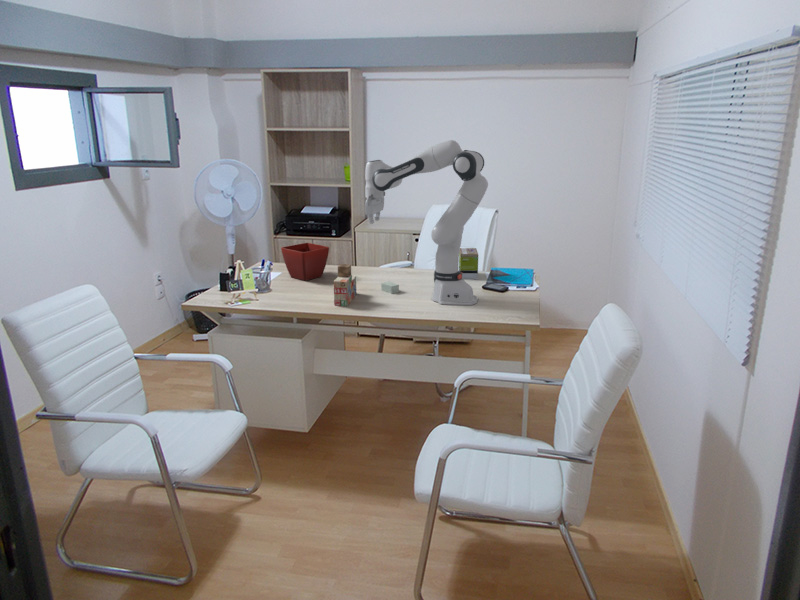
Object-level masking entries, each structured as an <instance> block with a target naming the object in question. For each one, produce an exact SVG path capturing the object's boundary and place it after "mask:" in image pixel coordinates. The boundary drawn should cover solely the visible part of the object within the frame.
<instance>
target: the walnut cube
mask: <svg viewBox="0 0 800 600" xmlns="http://www.w3.org/2000/svg"><path fill="white" fill-rule="evenodd" d="M350 275H352V264H343V263H341V264H339V265H338V266H337V277H349V276H350Z"/></svg>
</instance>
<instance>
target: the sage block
mask: <svg viewBox="0 0 800 600" xmlns="http://www.w3.org/2000/svg"><path fill="white" fill-rule="evenodd" d="M380 284H381V286H380V287H381V289H380V290H381V292H382V291H383V292H386V293H389V294H395V293H399V292H400V285H399V283H394V282H391V281H385V282H381V283H380Z"/></svg>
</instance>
